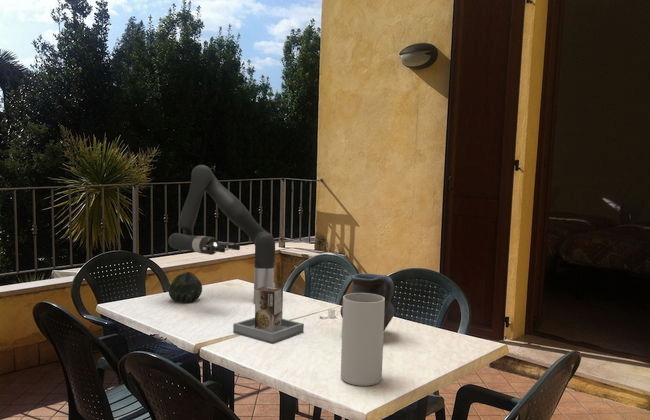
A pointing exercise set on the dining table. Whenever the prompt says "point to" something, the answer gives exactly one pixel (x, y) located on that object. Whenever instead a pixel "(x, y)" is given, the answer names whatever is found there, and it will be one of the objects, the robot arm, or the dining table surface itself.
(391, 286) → the pitcher
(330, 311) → the teacup and saucer
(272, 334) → the tray
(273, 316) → the coffee box
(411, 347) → the dining table surface
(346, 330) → the cylinder vase
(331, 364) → the dining table surface
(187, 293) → the squash
